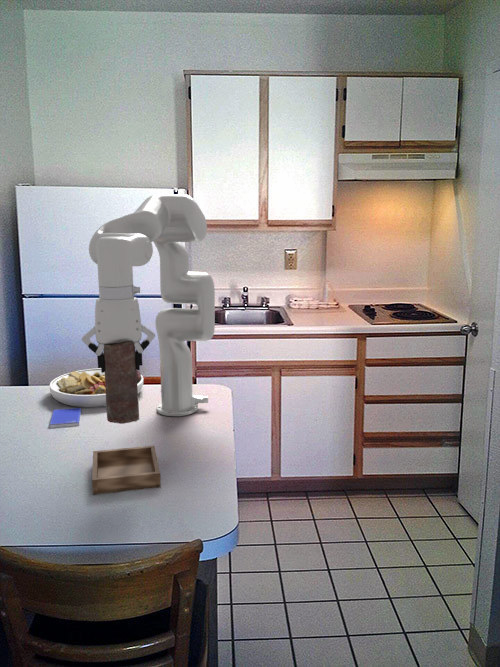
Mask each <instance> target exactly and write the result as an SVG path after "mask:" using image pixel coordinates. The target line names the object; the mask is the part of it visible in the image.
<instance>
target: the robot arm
mask: <svg viewBox="0 0 500 667" xmlns="http://www.w3.org/2000/svg"><path fill="white" fill-rule="evenodd" d="M207 231H208V223H207V219H206V217H205V214H204V213H203V211H202V209H201V208H200V206H199V204H198V203H197V202H196V201H195V199H194V198H193V197H191V196H190V195H188V194H185V193H183V194H180V193H179V194H173V193H172V194H171V193H170V194H167V193H164V194H161V193H159V194H152V195H150V196H149V197H147V198H146V199H144V201H143V202H142V203H141V204H140V205H139V206H138V207H137V209H135V211H134V212H133V213H129V214H126V215H123V216H121V217H118V218H115V219H112V220H110V221H108V222H106V223H103V224H102V225H101V226H100V227H99V228H97V230H95V232H94V233H93V235H92V237H91V239H90V241H89V245H88V253H89V257H90V259H91V261H93V263H94V264H96V265H97V277H98V278H97V282H98V296H99V298H96V299H95V306H94V307H95V308H94V325H93V327H92V328H90V329H89V330H88V331H87V332H86V333H84V334H83V335H82V337H81V341H82V342H83V343H84V344H85V345H86V346H87V348H88V349H89V350H91V351H92V352H93V353H94V354H95V355H96V356H97V368H101V373H104V372H105V369H104V353H103V349H104V345H106V344H117V343H121V342H124V341H133V342H134V344H135V353H136V370H137V371H140V370H141V369H140V368H141V367H140V366H143V352H144V351H145V350H146V348H147V347H148V346H149V345H150V344H151V343H152V341H153V340H154V338H155V337H156V336H157V338H158V339H157V340H158V347H159V348H158V349H159V363H160V364H159V365H160V368H159V369H160V370H159V371H160V395H161V398H160V399H161V402H159V404H157V405H156V411H157V413H158V414H159V415H162V416H167V417H185V416H189V415H191V414H194V413H196V412H197V411H198V409H199V404H208V403H209V397H208V396H203V395H196V394H194V390H193V365H192V363H193V359H192V358H193V357H192V356H193V355H192V352H191V349H190V347H189V346H188V345H187V343H186V342H207V341H210V340H211V339H212V338H213V336H214V333H215V328H216V327H215V325H216V323H215V322H216V320H215V318H216V315H215V314H216V311H215V309H216V307H215V306H216V304H215V303H216V296H215V295H216V291H215V282H214V279H213V277H212V275H211V274H209V273H207V272H204V271H190V255H189V252H188V250H187V248H186V247H185V245H184V244H183V243H200V242H202V241H203V240H204V239H205V238H206V236H207ZM152 242H153V244H154V246H155V248H156V249H157V252H158V256H159V277H160V279H159V282H160V283H159V285H160V287H159V288H160V296H161V299H162V301H163V302H165V303H167V304H175V305H177V304H178V305H195V306H196V307H197V308H181V307H179V308H178V307H170V308H164V309H162V310H160V311H159V312H158V313H157V315H156V317H155V320H154V321H155V329H156V334H157V335H156V334H155V332H153V331H152V330H151V329H149V328H148V327H146V326H145V325H144V324H143V323H141V322H142V319H141V311H140V306H139V305H140V304H139V300H138V298H137V297H136V296H135V295H137V294H140V293H141V287H140V286H135V285H134V274H133V273H134V272H133V267H142V266H143V267H144V266H145V265H147V264H148V263H149V262H150V261H151V258H152V257H153V253H154V248H153V244H152ZM142 334H144V335H147V336H146V338H145V339H143V341H142V342H141V343H140V341H141V340H142V336H143V335H142ZM93 336H95V341H96V343H98V344H95V343H94V342H93V341H92V340H91V338H92V337H93ZM185 341H186V342H185Z"/></svg>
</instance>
